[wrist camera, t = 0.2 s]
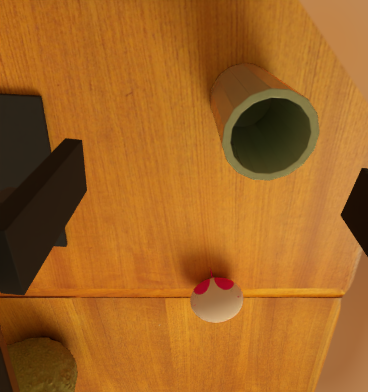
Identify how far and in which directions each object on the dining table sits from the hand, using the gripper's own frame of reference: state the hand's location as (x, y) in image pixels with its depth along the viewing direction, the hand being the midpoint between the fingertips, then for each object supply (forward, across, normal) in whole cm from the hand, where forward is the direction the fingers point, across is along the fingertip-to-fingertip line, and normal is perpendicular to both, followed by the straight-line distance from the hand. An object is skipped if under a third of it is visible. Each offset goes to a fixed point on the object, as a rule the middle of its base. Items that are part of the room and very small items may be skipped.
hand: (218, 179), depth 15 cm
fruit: (+17, -24, -47) cm, 55 cm away
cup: (+20, +4, -1) cm, 20 cm away
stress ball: (+19, +4, -28) cm, 34 cm away
